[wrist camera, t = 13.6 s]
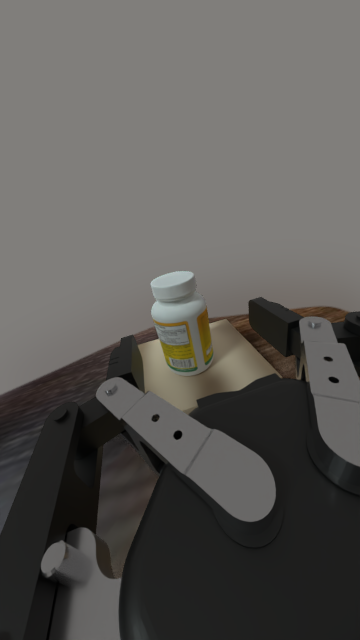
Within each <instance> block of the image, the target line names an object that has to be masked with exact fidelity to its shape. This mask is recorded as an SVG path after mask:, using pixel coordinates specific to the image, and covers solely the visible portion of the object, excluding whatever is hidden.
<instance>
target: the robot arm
mask: <svg viewBox="0 0 360 640" xmlns="http://www.w3.org/2000/svg"><path fill="white" fill-rule="evenodd" d="M249 322H250V325H251V327H252V328H253V329H254V330H255V331H256V332H257V333H258V334H259V335H260V336H262V337H263V338H264V339H265V340H266V341H267V342H269V343H270V344H271V345H272V346H273V347H274V348H275V349H277V350H278V351H279V352H280V353H281V354H282V355H284V356H285V357H288V356H291V355H295V367H296V379H289V378H283V379H281V378H280V377H279V376H278V375H277V374H276V373H274V374H271V375H268V376H265V377H262V378H259V379H256V380H255V381H253V382H252V383H250V384H249V385H247V386H246V387H244V388H243V389H241V390H239V391H230V392H221V393H215V394H212V395H209V396H206V397H203V398H200V399H197V400H196V401H197V405H198V407H197V408H195V409H194V410H193V411H191V412H190V413H189V414H188V415H187V414H186V413H184V412H182V411H181V410H179V409H178V408H176V407H175V406H173V405H172V404H170V403H169V402H167V401H165V400H164V399H162V398H161V397H159V396H158V395H156V394H155V393H153V392H151V391H148V392H147V393H146V394H145V386H144V370H143V360H142V356H141V353H140V351H139V348H138V345H137V343H136V340H135V338H134V336H133V335H130V336H127V337H124V338H121V343H120V347H117V348H115V349H114V350H113V352H112V353H111V356H110V361H109V367H108V372H107V378H106V381H105V382H104V383H103V384H102V385H101V386H100V387H99V388H98V390H97V392H96V397H94V398H93V399H91V400H90V401H88V402H86V403H84V404H83V405H81V406H78V404H77V403H75V402H68V403H65V404H63V405H61V406H59V407H58V408H56V409H55V410H54V411H53V412H52V413H51V414H50V415H49V416H48V418H47V419H46V421H45V423H44V426H43V429H42V431H41V434H40V436H39V439H38V441H37V444H36V446H35V449H34V451H33V454H32V456H31V459H30V461H29V464H28V467H27V469H26V472H25V474H24V477H23V479H22V482H21V484H20V487H19V489H18V492H17V494H16V497H15V499H14V502H13V504H12V507H11V510H10V512H9V515H8V517H7V520H6V522H5V525H4V527H3V530H2V532H1V535H0V640H360V380H359V377H360V312H351V313H348V314H347V315H346V316H345V321H344V322H337V323H330V322H329V321H328V320H326V319H324V318H320V317H305V318H304V317H302V316H300V315H298V314H297V313H295V312H293V311H291V310H289V309H287V308H284V306H282V305H280V304H278V303H273V302H269V301H267V300H265V299H264V298H262V297H259V298H256V299H253V300H250V301H249ZM358 376H359V377H358ZM118 434H120V435H121V436H122V437H123V438H124V439H125V440H126V441H127V442H128V443H129V444H130V445H131V446H132V447H133V448H134V449H135V450H136V451H137V452H138V453H139V454H140V456H141V457H142V458H143V459H144V460H145V462H146V463H147V464H148V466H149V467H150V468H151V469H152V470H153V471H154V473H155V474H156V475H157V476H158V477H159V479H158V481H157V483H156V486H155V488H154V491H153V493H152V496H151V498H150V500H149V503H148V505H147V508H146V510H145V513H144V515H143V518H142V520H141V522H140V525H139V527H138V530H137V532H136V535H135V537H134V539H133V542H132V544H131V547H130V549H129V552H128V555H127V558H126V561H125V565H124V569H123V573H122V577H121V578H119V579H115V577H114V575H113V572H112V568H111V558H110V551H109V548H108V545H107V544H106V542H105V541H104V540H102V539H101V538H100V537H98V536H97V535H96V525H97V513H98V501H99V489H100V477H101V466H102V454H103V445H104V444H105V443H106V442H108V441H109V440H111V439H112V438H114V437H115V436H117V435H118Z"/></svg>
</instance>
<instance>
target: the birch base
mask: <svg viewBox="0 0 360 640" xmlns="http://www.w3.org/2000/svg"><path fill="white" fill-rule="evenodd" d="M209 326H210V333H211V340H212V347H213V354H214V356H213V361H212V363H211V365H210V366H209V367H208V368H207V369H206V370H205V371H203V372H201V373H199V374H196V375H192V376H181V375H178V374H175V373H173V372H172V371H171V370H170V369H169V367H168V365H167V363H166V360H165V356H164V353H163V350H162V346H161V343H160V340H159V339H157V340H154V341H150V342H147V343H144V344H140V345H138V348H139V351H140V353H141V356H142V360H143V370H144V386H145V394H146V393H147V392H148V391H151V392H153V393H155V394H156V395H158V396H159V397H161V398H162V399H164V400H165V401H167V402H169V403H170V404H172V405H173V406H175V407H176V408H178V409H179V410H181V411H182V412H184V413H186V414H187V415H188V414H189V413H190V412H191V411H193V410H194V409H195V408H197V407H198V405H197V401H196V400H197V399H200V398H203V397H206V396H209V395H212V394H215V393H221V392H230V391H239V390H241V389H243V388H244V387H246V386H247V385H249V384H250V383H252V382H253V381H255V380H256V379H259V378H262V377H265V376H268V375H271V374H274V373H276V374H277V375H278V376H279V377H280V378H281V379H282V376H281V375H280V374H279V373H278V372H277V371H276V370H275V369H274V368H273V367H272V366H271V365H270V364H269V363H268V362H267V361H266V360H265V359H264V358H263V356H262V355H261V354H260V353H259V352H258V351H257V350H256V349H255V348H254V347H253V346H252V345H251V344H250V343H249V342H248V341H247V340H246V339H245V338H244V337H243V336H242V335H241V334H240V333H239V332H238V331H237V330H236V329H235V328H234V327H233V326H232V325H231V324H230V323H229V321H228V320H227V319H224V320H221V321H217V322H214V323H211V324H209Z"/></svg>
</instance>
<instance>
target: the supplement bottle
mask: <svg viewBox="0 0 360 640" xmlns="http://www.w3.org/2000/svg"><path fill="white" fill-rule="evenodd" d="M151 288H152V292H153V296H154V297H155V299H156V300H157V301H156V302H155V303H154V305H153V307H152V311H151V313H152V318H153V321H154V324H155V328H156V331H157V334H158V337H159V340H160V343H161V346H162V350H163V353H164V356H165V360H166V363H167V365H168V367H169V369H170V370H171V371H172V372H173V373H175V374H178V375H181V376H192V375H196V374H199V373H201V372H203V371H205V370H206V369H207V368H208V367H209V366H210V365H211V363H212V361H213V356H214V354H213V347H212V340H211V333H210V326H209V319H208V313H207V306H206V301H205V299H204V297H203V296H202V295H201V294H199V293H197V292H195V290H196V282H195V276H194V274H193V273H192V272H188V271H179V272H173V273H168V274H165V275H162V276H160V277H158V278H156V279H154V280H153V281H152V282H151Z"/></svg>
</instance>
